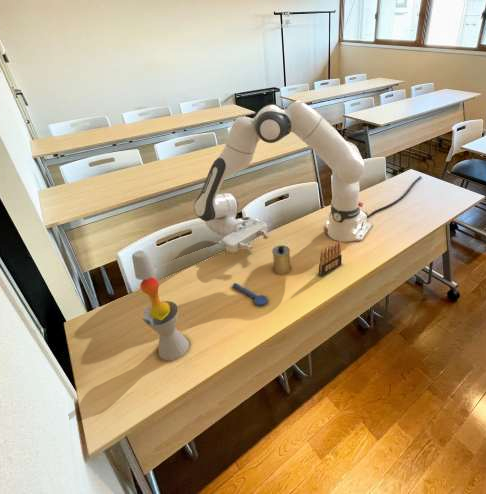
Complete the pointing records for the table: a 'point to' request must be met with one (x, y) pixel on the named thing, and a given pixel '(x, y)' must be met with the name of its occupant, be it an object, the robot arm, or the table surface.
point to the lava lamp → (159, 310)
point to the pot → (281, 259)
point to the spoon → (253, 295)
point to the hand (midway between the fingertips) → (259, 242)
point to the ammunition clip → (330, 258)
